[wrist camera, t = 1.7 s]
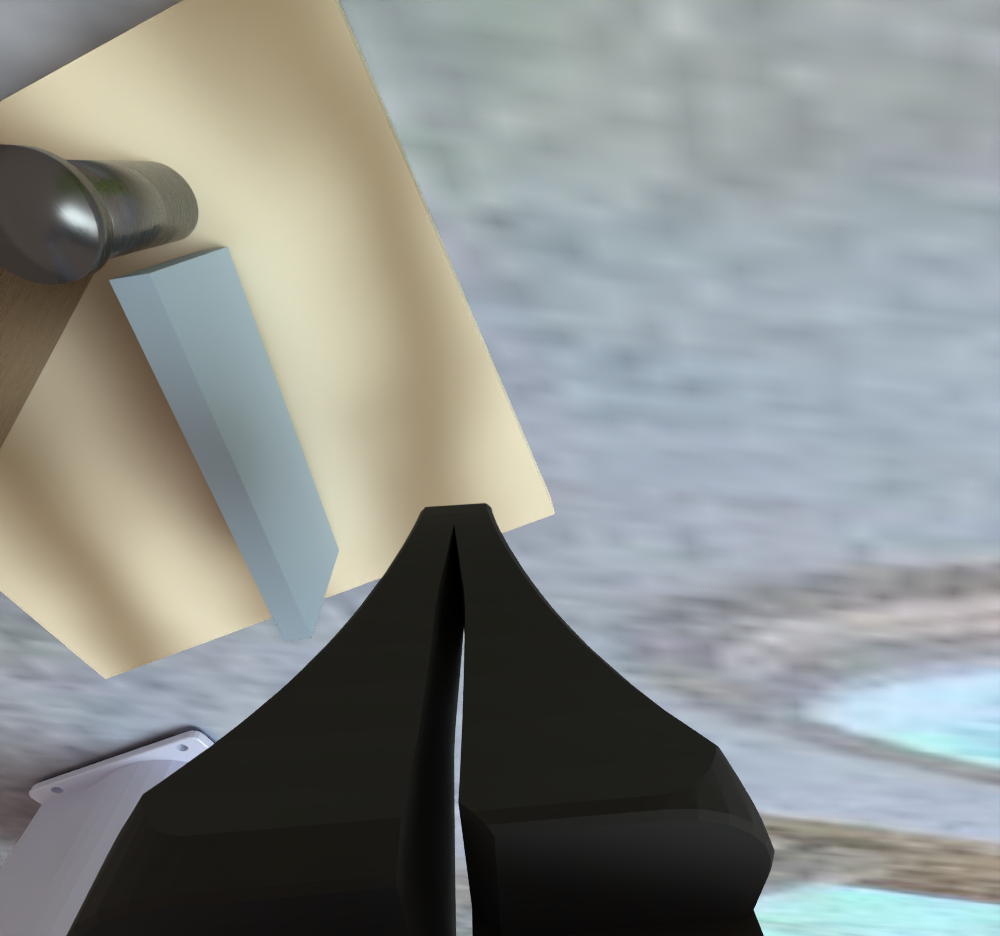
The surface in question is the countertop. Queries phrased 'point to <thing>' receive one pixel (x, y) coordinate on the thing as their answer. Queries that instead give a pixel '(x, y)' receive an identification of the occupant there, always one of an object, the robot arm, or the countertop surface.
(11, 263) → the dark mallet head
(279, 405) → the slate bar
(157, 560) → the maple board
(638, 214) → the countertop surface
